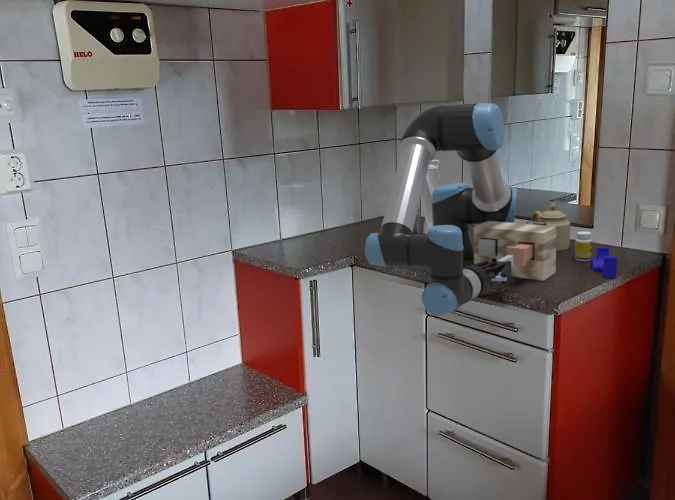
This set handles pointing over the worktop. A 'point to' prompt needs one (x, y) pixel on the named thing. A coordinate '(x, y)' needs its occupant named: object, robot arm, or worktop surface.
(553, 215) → the sugar bowl
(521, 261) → the terracotta plug
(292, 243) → the worktop surface
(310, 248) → the worktop surface
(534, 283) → the worktop surface
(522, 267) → the housing
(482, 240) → the grey plug
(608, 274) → the blue curved cradle
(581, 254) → the supplement bottle
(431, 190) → the skyscraper
